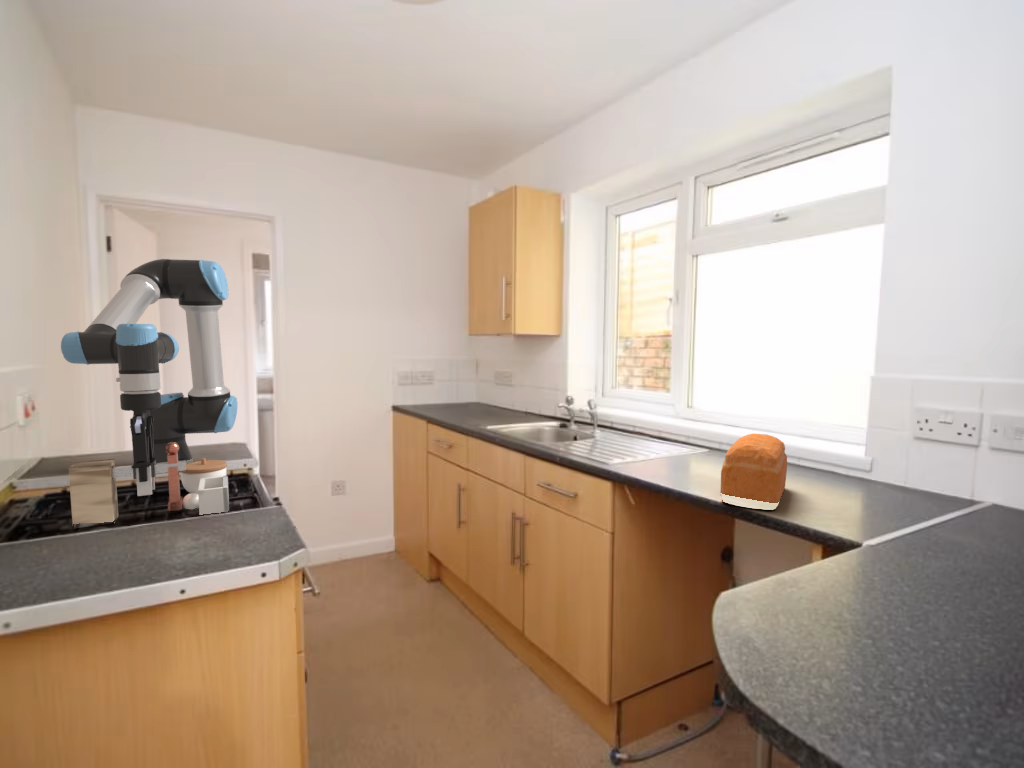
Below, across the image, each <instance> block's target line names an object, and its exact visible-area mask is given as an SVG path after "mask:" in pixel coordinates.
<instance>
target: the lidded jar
mask: <svg viewBox="0 0 1024 768" xmlns="http://www.w3.org/2000/svg"><path fill="white" fill-rule="evenodd" d="M227 465H228V464H227V461H225V460H221V459H206V457H203V458H202V457H201V458H200V460H198V461H193V462H191V463H187V464H186V470H184V471H179V473H180V480H181V485H182V486H183V488H184V489H185V490H186V492H187V493H188V494H190V493H196V494H198V489H199V484H200V478H209V477H218V476H227V470H228V469H227Z"/></svg>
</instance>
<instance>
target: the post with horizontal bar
mask: <svg viewBox="0 0 1024 768" xmlns="http://www.w3.org/2000/svg"><path fill="white" fill-rule="evenodd" d="M165 451H166V452H167V453H168V455H167V459H168V462H162V463H156V460H149V463H150V466H151V478H152V477H154V478H156V476H157V474H162V473H167V476H168V494H169V498H168V500H167V501H168V502H167V510H168V512H171V511H173V512H174V511H181V510H183V509H182V508H183V504H182V501H183V496H181V486H180V471H184V470H186V460H184V461H178V451H179V445H178V444H177V443H175V442H170V443H168V444H167V445H166V447H165ZM133 464H134V462H133V463H132V465H130V464H129V465H121V466H120V465H119V466H115V467H111V472H112V478H115V477H116V478H122V477H125V478H126V477H132V478H133V480H137V479H136V468H133V469H132V467H131V466H134V465H133Z"/></svg>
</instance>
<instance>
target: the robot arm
mask: <svg viewBox="0 0 1024 768" xmlns="http://www.w3.org/2000/svg"><path fill="white" fill-rule="evenodd" d="M228 284H229V283H228V279H227V277H226V273H225V271H224V269H223V267H222V266H221V265H220V264H219V263H218V262H216V261H212V260H204V259H170V258H162V259H161V258H160V259H154V260H151V261H148V262H145V263H143V264H141V265H139V266H137V267H135V268H134V269H132V270H130V271H129V272H128V273H127V274H126V275H125V276H124V277H123V278H122V280H121V282H120V286H119V288H120V289H119V290H118V291H117V293H115V295H114V296H113V297H112V298H111V300H110V301H109V302H108V303H107V304H106V305H105V307H104V308H103V309H102V310H101V311H100V312H99V314H98V315H97V316H96V317H95V318H94V319H93V321H92V322H91V323H90V324H89V325H88V327H87V328H86V329H85V330H84V331H78V330H77V331H75V332H72V331H71V332H68V333H67V332H66V333H65V334H64V335H63V336H62V338H61V341H60V351H61V354H62V355H63V358H64V359H65V360H66V362H68V363H69V364H77V365H79V364H81V365H107V364H108V365H109V364H110V365H113V364H118V367H117V368H118V377H116V379H115V382H117V383H119V390H120V391H121V392H122V393H121V394H119V397H120V401H119V403H120V409H121V410H122V411H128V412H129V411H132V413H133V414H132V415H133V416H132V418H131V417H130V419H129V424H130V426H129V428H130V432H131V442H132V454H133V455H132V458H133V463H134V464H133V463H132V465H134V466H131V467H132V469H133V468H136V479H135V480H136V490H137V497H143V496H150V495H153V490H154V491H155V490H156V482H155V481H156V480H155V477H152V478H151V466H150V463H149V460H156V463H162V462H168V459H167V455H168V453H167V452H166V451H165V447H166V445H167V444H168V443H170V442H175V443H177V444H178V445H179V451H178V461H184V460H186V461H187V460H190V459H192V458H193V459H194V457H193V455H192V453H191V450H190V448H189V445H188V443H187V441H186V434H187V435H189V434H208V433H209V434H210V433H212V434H217V433H226V432H229V431H231V430H232V429H233V427H234V425H235V424H236V423H235V422H236V420H237V414H238V400H237V399H238V398H237V397H236V396H235V395H231V390H230V389H229V388H228V387H227V386H226V385H225V381H224V372H223V371H224V370H223V359H222V347H221V345H222V344H221V335H220V334H221V332H220V322H219V321H220V320H219V310H220V309H221V308H223V305H224V304H223V303H224V302H223V301H226V300H227V299H228V298H229V285H228ZM162 299H170V300H171V299H172V300H173V299H175V300H176V299H177V300H178V306H179V307H180V308H181V309H182V310H183V311H185V320H186V328H187V338H188V339H187V342H188V349H189V350H188V351H189V360H190V371H191V381H192V388H191V389H190V390H189V391H188V392H187V396H185V395H184V393H183V392H172V393H171V392H170V393H166V394H161V393H160V389H161V388H162V387H161V372H160V365H159V364H166V363H168V362H171V361H173V360H174V359H175V358H176V357H177V356H178V354H179V351H180V346H179V343H178V341H177V339H176V338H175V337H174V336H172V335H171V334H168V333H165V332H162V331H160V332H158V330H157V326H156V325H155V324H151V323H138V321H139V320H140V319H141V317H142V316H143V315H144V313H146V312H145V311H147V309H148V308H149V306H151V305H154V304H155V303H156V302H158V300H162Z"/></svg>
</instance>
